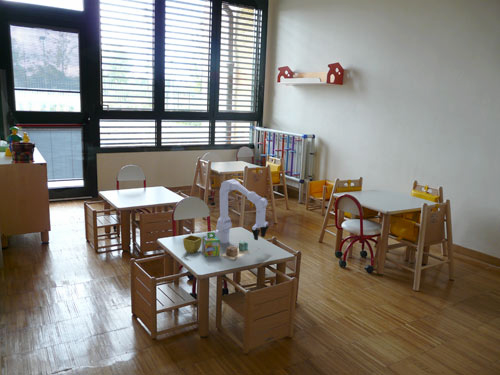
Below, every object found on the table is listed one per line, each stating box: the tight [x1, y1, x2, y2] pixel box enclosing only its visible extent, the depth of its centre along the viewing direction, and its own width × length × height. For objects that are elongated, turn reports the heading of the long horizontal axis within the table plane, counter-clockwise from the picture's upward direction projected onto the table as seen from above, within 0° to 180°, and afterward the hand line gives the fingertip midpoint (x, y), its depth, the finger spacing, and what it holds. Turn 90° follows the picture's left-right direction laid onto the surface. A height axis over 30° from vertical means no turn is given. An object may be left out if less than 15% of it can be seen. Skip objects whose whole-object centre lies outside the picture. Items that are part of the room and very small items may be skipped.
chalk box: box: [201, 231, 221, 258], centre depth 260 cm, size 9×9×15 cm
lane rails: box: [218, 244, 260, 262], centre depth 267 cm, size 14×26×2 cm, turn 149°
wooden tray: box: [220, 240, 250, 261], centre depth 263 cm, size 10×19×6 cm, turn 149°
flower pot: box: [182, 234, 203, 254], centre depth 266 cm, size 9×9×9 cm
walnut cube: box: [225, 245, 239, 257], centre depth 259 cm, size 5×5×5 cm
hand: (259, 238), depth 267 cm, fingers open, 7 cm apart
